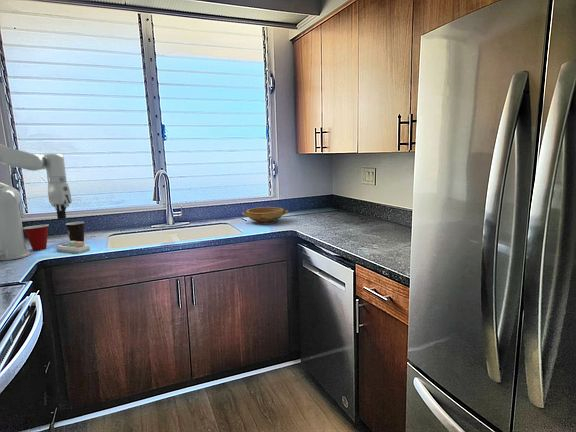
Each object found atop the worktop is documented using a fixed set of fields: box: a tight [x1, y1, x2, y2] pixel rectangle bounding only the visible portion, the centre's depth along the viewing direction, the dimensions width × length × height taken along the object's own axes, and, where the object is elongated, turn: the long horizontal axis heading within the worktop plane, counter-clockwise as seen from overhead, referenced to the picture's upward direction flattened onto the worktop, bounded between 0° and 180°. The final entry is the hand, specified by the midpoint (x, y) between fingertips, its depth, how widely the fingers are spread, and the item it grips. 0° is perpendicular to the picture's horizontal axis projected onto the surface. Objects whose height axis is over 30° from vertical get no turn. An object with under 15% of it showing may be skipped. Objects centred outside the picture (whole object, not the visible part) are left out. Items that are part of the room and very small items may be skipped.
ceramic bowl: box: [241, 206, 289, 225], centre depth 235 cm, size 30×24×8 cm
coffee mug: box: [65, 221, 85, 242], centre depth 194 cm, size 12×9×10 cm
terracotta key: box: [75, 241, 85, 247], centre depth 176 cm, size 2×3×2 cm
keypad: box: [56, 244, 91, 254], centre depth 178 cm, size 6×15×2 cm, turn 68°
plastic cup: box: [23, 223, 50, 251], centre depth 182 cm, size 11×11×12 cm
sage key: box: [67, 240, 77, 246], centre depth 177 cm, size 2×3×2 cm
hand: (61, 218), depth 177 cm, fingers closed
